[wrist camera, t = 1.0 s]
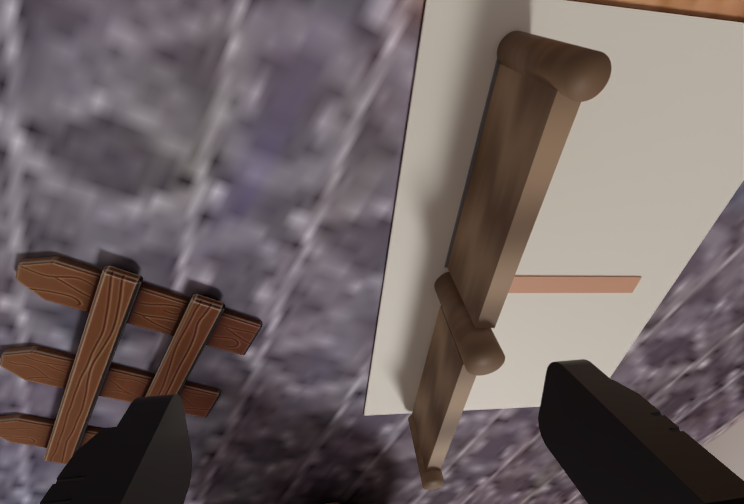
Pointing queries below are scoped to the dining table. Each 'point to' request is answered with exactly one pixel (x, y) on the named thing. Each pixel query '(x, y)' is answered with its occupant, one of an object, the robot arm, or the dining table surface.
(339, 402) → the dining table surface
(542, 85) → the fence fixed
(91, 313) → the decorative fence
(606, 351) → the card
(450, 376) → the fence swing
